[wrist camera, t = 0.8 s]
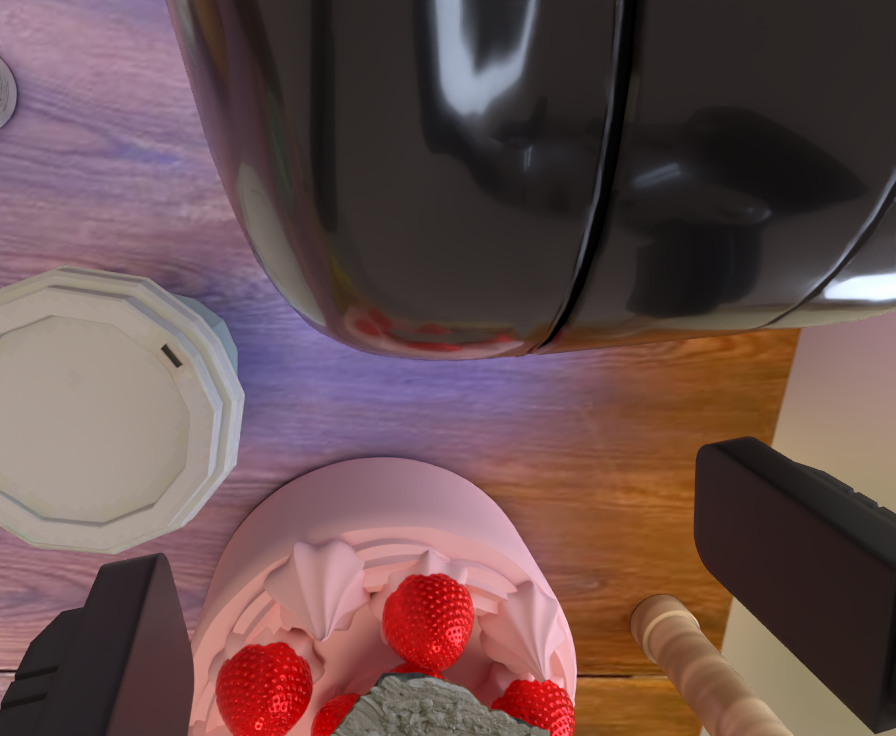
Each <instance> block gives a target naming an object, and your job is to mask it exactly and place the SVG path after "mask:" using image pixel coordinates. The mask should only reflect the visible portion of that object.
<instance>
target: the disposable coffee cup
mask: <svg viewBox="0 0 896 736" xmlns="http://www.w3.org/2000/svg"><path fill="white" fill-rule="evenodd" d="M237 370H238V350H237V348H236V345H235V343H234V341H233V339H232V336H231V334H230V332H229V330H228V328H227V325H226V323H225V321H224V320H223V319H222V318H221V317H219V316H218V315H216V314H215V313H214V312H212V311H211V310H210V309H208V308H207V307H206V306H204V305H203V304H202V303H200V302H199V301H198V300H196V299H193V298H189V297H185V296H181V295H177V294H173V293H169V292H167V291H166V290H165V289H163V288H162V287H160V286H159V285H158V284H156V283H155V282H154V281H152V280H151V279H150V278H148V277H141V276H135V275H128V274H122V273H115V272H109V271H102V270H96V269H89V268H83V267H76V266H70V265H63V266H60V267H57V268H54V269H52V270H49V271H46V272H44V273H41V274H38V275H35V276H33V277H30V278H27V279H25V280H22V281H19V282H16V283H14V284H11V285H8V286H6V287H3V288H0V527H1V528H3V529H4V530H6V531H8V532H9V533H11V534H12V535H14V536H16V537H17V538H19V539H21V540H22V541H24V542H26V543H27V544H29V545H31V546H32V547H34V548H41V549H53V550H65V551H76V552H88V553H100V554H112V555H115V554H117V553H120V552H122V551H124V550H127V549H129V548H132V547H134V546H137V545H139V544H142V543H144V542H147V541H149V540H152V539H154V538H157V537H159V536H162V535H164V534H167V533H169V532H172V531H174V530H177V529H179V528H182V527H184V526H185V525H186V524H187V522H188V521H191V520H192V519H193V518H194V517H195V516H196V514H197V513H198V512H199V511H200V509H201V508H202V507H203V506H204V504H205V503H206V502H207V501H208V499H209V498H210V497H211V496H212V494H213V493H214V492H215V491H216V489H217V488H218V487H219V486H220V484H221V483H222V482H223V481H224V479H225V478H226V477H227V476H228V475H229V473H230V472H231V471H232V470H233V468H234V467H235V466H236V464H237V455H238V447H239V439H240V431H241V423H242V415H243V407H244V399H245V393H244V391H243V389H242V387H241V385H240V382H239V380H238V378H237Z"/></svg>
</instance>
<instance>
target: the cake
mask: <svg viewBox="0 0 896 736" xmlns="http://www.w3.org/2000/svg"><path fill="white" fill-rule="evenodd" d="M190 645H191V649H192V655H193V663H194V696H193V703H192V710H191V716H190V723H189V729H188V736H330V734H331V733H333V731H334V730H335V728H336V727H337V726H338V725H339V723H340V722H341V721H342V719H344V717H345V715H346V714H347V713H348V712H349V711H350V709H351V708H352V706H353V704H354V703H355V701H356V700H357V698H358V697H360V696H361V695H364V694H366V693H368V692H369V691H370V688H371V687H373V686H374V685H375V683H376V681H377V680H378V679H379V677H380V676H381V674H382V673H388V672H397V673H414V672H417V673H423V674H427V675H429V676H432V677H436V678H440V679H444V680H447V681H450V682H453V683H456V684H460V685H463V686H464V687H466V688H467V689H469V691H470V692H471V693H472V694H473V695H474V696H475V697H476V698H477V699H478V700H479V701H480V702H481V703H482V704H483V705H485V706H487V707H488V708H491V709H497V710H502V711H504V712H506V713H507V714H509V715H510V716H512V717H514V718H520V719H522V720H524V721H525V722H527V723H528V724H530V725H532V726H538V727H539V728H541V729H545V730H548V731H549V732H550V736H574V731H575V713H574V707H575V702H574V698H575V690H576V673H577V669H576V655H575V649H574V644H573V639H572V635H571V632H570V629H569V626H568V623H567V620H566V618H565V616H564V613H563V611H562V609H561V606H560V604H559V602H558V600H557V598H556V597H555V595H554V593H553V591H552V590H551V588H550V586H549V584H548V583H547V581H546V579H545V578H544V576H543V574H542V573H541V571H540V569H539V568H538V566H537V564H536V563H535V561H534V559H533V557H532V556H531V554H530V552H529V551H528V549H527V547H526V546H525V544H524V542H523V541H522V539H521V537H520V536H519V534H518V532H517V531H516V529H515V527H514V526H513V524H512V523H511V522H510V520H509V519H508V518H507V516H506V515H505V514H504V512H503V511H502V510H501V509H500V508H499V506H498V505H497V504H496V503H495V502H494V501H493V500H492V499H491V498H490V497H489V496H487V495H486V494H485V493H484V492H483V491H482V490H481V489H479V488H478V487H476V486H475V485H474V484H472V483H471V482H469V481H468V480H466V479H464V478H462V477H460V476H459V475H457V474H455V473H452V472H450V471H448V470H446V469H443V468H441V467H438V466H435V465H431V464H428V463H425V462H420V461H416V460H411V459H403V458H389V457H375V458H361V459H354V460H348V461H343V462H339V463H335V464H332V465H328V466H325V467H323V468H320V469H317V470H314V471H312V472H310V473H307V474H305V475H303V476H301V477H299V478H297V479H295V480H293V481H291V482H290V483H288V484H286V485H285V486H283V487H281V488H280V489H279V490H277V491H276V492H274V493H273V494H272V495H270V496H269V497H268V498H267V499H265V500H264V501H263V502H262V503H261V504H260V505H259V506H258V507H256V508H255V509H254V511H253V512H252V513H251V514H250V515H249V516H248V517H247V518H246V519H245V520H244V521H243V523H242V524H241V525H240V526H239V528H238V529H237V530H236V532H235V533H234V535H233V536H232V538H231V539H230V541H229V543H228V544H227V546H226V548H225V550H224V552H223V554H222V556H221V558H220V560H219V563H218V565H217V567H216V570H215V573H214V575H213V578H212V581H211V584H210V587H209V590H208V593H207V596H206V599H205V602H204V605H203V608H202V611H201V614H200V617H199V620H198V623H197V626H196V629H195V632H194V635H193V638H192V641H191V644H190Z"/></svg>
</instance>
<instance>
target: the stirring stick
mask: <svg viewBox="0 0 896 736" xmlns="http://www.w3.org/2000/svg"><path fill="white" fill-rule="evenodd" d="M630 630H631V634H632V636H633V638H634V639H635V641H636V642H637V644H638V645H639V646H640V648H641V649H642V651H643V652H644V653H645V655H646V656H647V657H648V658H649V660H651V661H652V662H654V663H656V664H658V665H659V666H660V667H661V669H662V670H663V671H664V673H665V674H666V676H667V677H668V678H669V680H670V681H671V682H672V684H673V685H674V686H675V688H676V689H677V691H678V692H679V693H680V695H681V696H682V697H683V699H684V700H685V701H686V703H687V704H688V706H689V707H690V708H691V710H692V711H693V712H694V714H695V715H696V716H697V718H698V719H699V720H700V722H701V723H702V725H703V726H704V727H705V729H706V730H707V731H708V733H709V734H710V735H711V736H794V735H793V734H792V733H791V732H790V731H789V730H788V728H787V727H786V726H785V725H784V724H783V723H782V722H781V721H780V719H779V718H778V717H777V716H776V715H775V714H774V713H773V712H772V711H771V709H770V708H769V707H768V706H767V705H766V704H765V703H764V702H763V700H762V699H761V698H760V697H759V696H758V695H757V694H756V693H755V691H754V690H753V689H752V688H751V687H750V686H749V685H748V684H747V683H746V681H745V680H744V679H743V678H742V677H741V676H740V675H739V674H738V672H737V671H736V670H735V669H734V668H733V667H732V666H731V665H730V664H729V662H728V661H727V660H726V659H725V658H724V657H723V656H722V655H721V653H720V652H719V651H718V650H717V649H716V648H715V647H714V646H713V645H712V643H711V642H710V641H709V640H708V639H707V638H706V637H705V636H704V634H703V633H702V632H701V631H700V627H699V624H698V622H697V620H696V619H695V618H694V616H693V615H692V614H691V613H690V612H689V611H688V610H687V609H686V608H685V606H684V605H683V604H682V603H681V602H680V601H679V600H678V599H676V598H675V597H672V596H669V595H655V596H652V597H649V598H648V599H646V600H644V601H643V602H642V603H641V604H640V605H639V606H638V607H637V608H636V609H635V611H634V613H633V615H632V617H631V622H630Z"/></svg>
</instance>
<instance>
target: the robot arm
mask: <svg viewBox="0 0 896 736" xmlns="http://www.w3.org/2000/svg"><path fill="white" fill-rule="evenodd" d="M165 1H166V5H167V8H168V12H169V15H170V18H171V22H172V25H173V28H174V32H175V35H176V39H177V42H178V45H179V49H180V52H181V55H182V59H183V62H184V66H185V69H186V72H187V76H188V79H189V82H190V86H191V89H192V93H193V96H194V99H195V103H196V106H197V110H198V113H199V116H200V120H201V123H202V126H203V130H204V133H205V137H206V140H207V143H208V147H209V150H210V153H211V156H212V158H213V161H214V164H215V166H216V169H217V171H218V174H219V177H220V179H221V182H222V185H223V187H224V190H225V192H226V195H227V198H228V200H229V203H230V205H231V207H232V209H233V212H234V214H235V216H236V218H237V220H238V222H239V225H240V227H241V229H242V231H243V233H244V235H245V237H246V239H247V241H248V243H249V245H250V247H251V249H252V251H253V253H254V256H255V258H256V260H257V262H258V263H259V265H260V266H261V268H262V269H263V271H264V272H265V274H266V275H267V277H268V278H269V279H270V281H271V282H272V284H273V285H274V287H275V288H276V290H277V291H278V292H279V293H280V295H281V296H282V297H283V298H284V299H285V300H286V302H287V303H288V304H289V305H290V306H291V307H292V308H293V309H294V310H295V311H296V312H297V313H298V314H299V315H300V316H301V317H302V318H303V319H304V320H305V321H306V322H307V323H308V325H309V326H311V327H312V328H314V329H315V330H317V331H318V332H320V333H321V334H323V335H325V336H327V337H329V338H331V339H333V340H336V341H338V342H340V343H342V344H344V345H346V346H348V347H351V348H353V349H356V350H359V351H362V352H366V353H370V354H374V355H381V356H388V357H394V358H401V359H413V360H425V361H463V360H478V359H492V358H500V357H520V356H525V355H527V354H535V355H544V354H553V353H563V352H572V351H582V350H592V349H601V348H611V347H620V346H630V345H640V344H649V343H659V342H668V341H678V340H688V339H697V338H707V337H716V336H726V335H736V334H743V333H753V332H763V331H774V330H784V329H794V328H804V327H814V326H821V325H828V324H836V323H842V322H849V321H855V320H861V319H865V318H869V317H873V316H877V315H880V314H884V313H888V312H891V311H894V310H896V0H165ZM694 539H695V544H696V548H697V551H698V554H699V556H700V558H701V560H702V562H703V564H704V565H705V567H706V568H707V570H708V571H709V572H710V573H711V574H712V575H713V576H714V577H715V578H716V579H717V580H718V581H719V582H720V583H721V584H722V585H723V586H724V587H725V588H726V589H727V590H728V591H729V592H730V593H731V594H732V595H733V596H734V597H735V598H737V600H738V601H740V602H741V603H742V604H743V605H744V606H745V607H746V608H747V609H748V610H749V611H750V612H751V613H752V614H753V615H754V616H755V617H756V618H757V619H758V620H759V621H760V622H761V623H762V624H763V625H764V626H765V627H766V628H767V629H768V630H769V631H770V632H771V633H772V634H773V635H774V636H775V637H776V638H777V639H778V640H779V641H781V643H782V644H784V645H785V647H787V648H788V649H789V650H790V651H791V652H792V653H793V654H794V655H795V656H796V657H797V658H798V659H799V660H800V661H801V662H802V663H803V664H804V665H805V666H806V667H807V668H808V669H809V670H810V671H811V672H812V673H813V674H814V675H815V676H816V677H817V678H818V679H819V680H820V681H821V682H822V683H823V684H824V685H825V686H826V687H828V689H830V690H831V692H833V694H835V695H836V696H837V697H838V698H839V699H840V700H841V701H842V702H843V703H844V704H845V705H846V706H847V707H848V708H849V709H850V710H851V711H852V712H853V713H854V714H855V715H856V716H857V717H858V718H859V719H860V720H861V721H862V722H863V723H864V724H865V725H866V726H867V727H868V728H869V729H870V730H871V731H872V732H873V733H874V734H877V733H881V732H884V731H887V730H891V729H894V728H896V514H895V513H894V512H892V511H890V510H888V509H887V508H885V507H878V505H877V502H875V501H873V500H872V499H870V498H868V497H867V496H865V495H863V494H861V493H860V492H857V493H855V492H854V490H853V488H851V487H850V486H848V485H846V484H845V483H843V482H841V481H839V480H838V479H836V478H834V477H833V476H831V475H829V474H828V473H826V472H824V471H821V470H818V469H815V468H812V467H809V466H806V465H803V464H800V463H797V462H794V461H792V460H791V459H789V458H787V457H786V456H784V455H782V454H781V453H779V452H777V451H776V450H774V449H772V448H771V447H769V446H767V445H766V444H764V443H762V442H761V441H759V440H757V439H756V438H754V437H750V436H747V437H741V438H736V439H731V440H726V441H721V442H716V443H711V444H706V445H704V446H702V447H701V448H700V449H699V451H698V453H697V457H696V473H695V506H694ZM193 696H194V663H193V655H192V649H191V645H190V641H189V637H188V633H187V629H186V625H185V621H184V618H183V614H182V610H181V606H180V602H179V598H178V595H177V591H176V587H175V583H174V579H173V576H172V572H171V568H170V565H169V562H168V560H167V558H166V556H165V555H164V554H163V553H157V554H152V555H147V556H142V557H137V558H132V559H127V560H122V561H117V562H112V563H107V564H104V565H102V566H101V568H100V570H99V572H98V574H97V577H96V579H95V581H94V584H93V586H92V588H91V591H90V593H89V596H88V598H87V600H86V603H85V605H84V607H82V608H77V609H72V610H67V611H63V612H61V613H60V614H59V615H58V616H57V617H56V618H55V619H54V620H53V621H52V622H51V623H50V624H49V625H48V626H47V627H46V628H45V629H44V630H43V631H42V632H41V633H40V634H39V635H38V636H37V637H36V638H35V639H34V640H33V641H32V642H31V643H30V645H29V647H28V649H27V651H26V653H25V655H24V657H23V659H22V661H21V663H20V665H19V667H18V669H17V671H16V673H15V681H14V682H11V684H10V686H9V688H8V690H7V692H6V694H5V696H4V698H3V700H2V702H1V710H0V736H188V729H189V723H190V716H191V710H192V703H193Z"/></svg>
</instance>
